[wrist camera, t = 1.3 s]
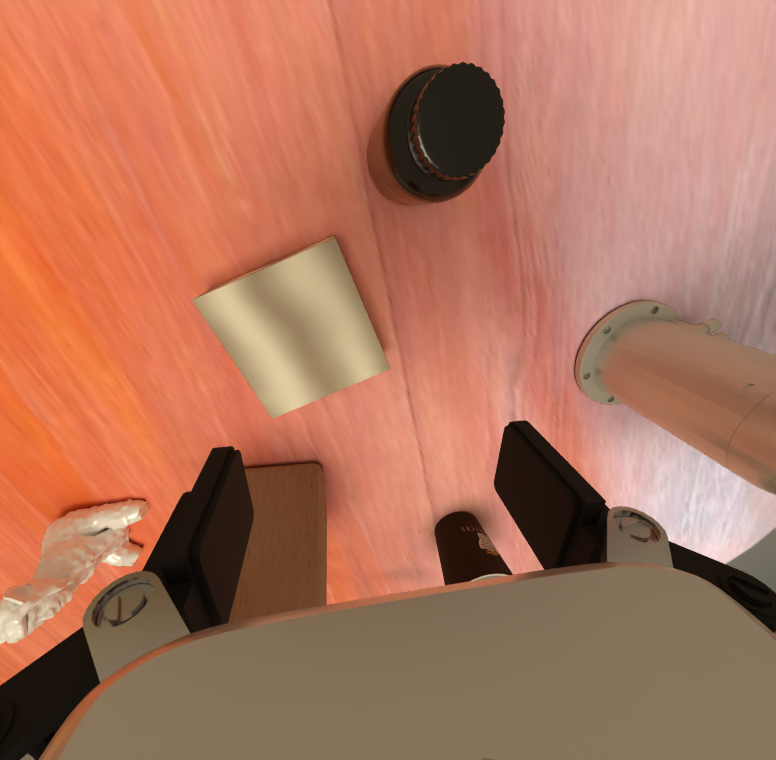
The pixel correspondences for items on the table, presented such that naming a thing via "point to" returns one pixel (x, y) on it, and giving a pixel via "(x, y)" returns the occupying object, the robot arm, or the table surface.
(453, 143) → the supplement bottle
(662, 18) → the table surface
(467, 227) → the table surface
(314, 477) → the block
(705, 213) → the table surface
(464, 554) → the coffee mug
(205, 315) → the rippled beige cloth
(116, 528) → the seated beast figurine
